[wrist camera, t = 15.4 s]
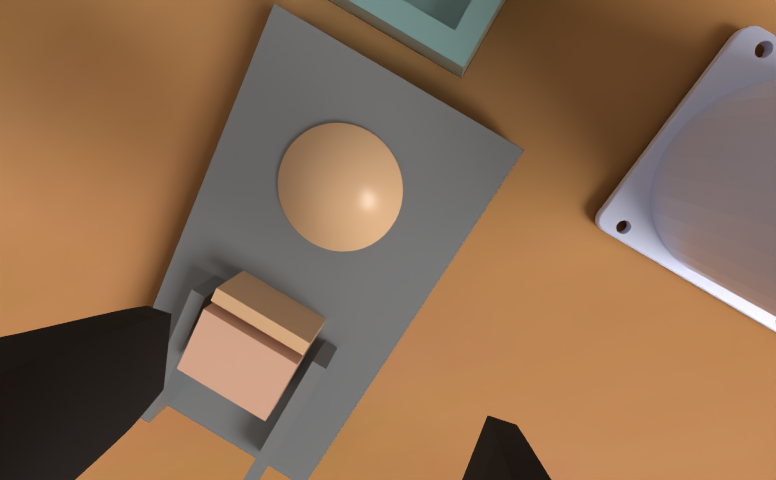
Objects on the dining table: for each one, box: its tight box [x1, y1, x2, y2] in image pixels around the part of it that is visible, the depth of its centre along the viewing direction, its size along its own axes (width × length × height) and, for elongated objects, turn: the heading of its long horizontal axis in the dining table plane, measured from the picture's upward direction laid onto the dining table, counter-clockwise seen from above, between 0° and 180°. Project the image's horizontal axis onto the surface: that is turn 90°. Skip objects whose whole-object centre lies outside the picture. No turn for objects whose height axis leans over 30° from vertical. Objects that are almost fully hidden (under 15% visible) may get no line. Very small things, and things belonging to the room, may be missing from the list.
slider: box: [177, 302, 315, 421], centre depth 16 cm, size 4×3×2 cm
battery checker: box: [140, 4, 524, 480], centre depth 16 cm, size 10×18×4 cm, turn 151°
